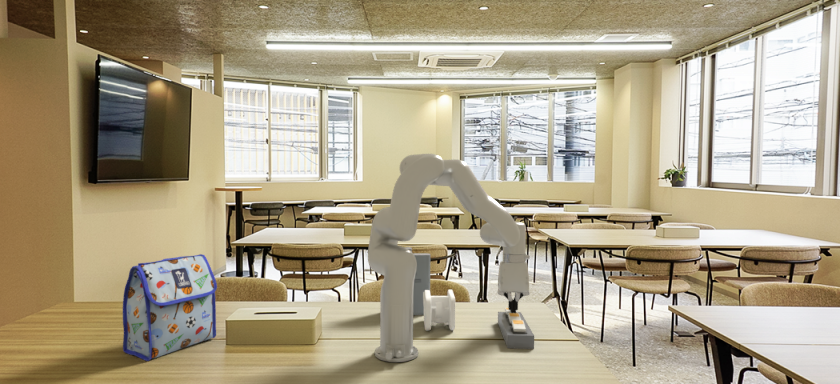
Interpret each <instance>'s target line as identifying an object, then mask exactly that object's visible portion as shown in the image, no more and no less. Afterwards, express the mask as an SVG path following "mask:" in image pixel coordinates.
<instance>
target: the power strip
mask: <svg viewBox="0 0 840 384" xmlns="http://www.w3.org/2000/svg"><path fill="white" fill-rule="evenodd" d="M517 312H518V313H519V314H520V317H521V320H523V321H524V324H525V328H526V332H514V330H513V326H512V323H510V321H509V317H508V315H507V314H506V312H505V311H498V312H497V325H498V327H499V330H500V332H501V335H502V338H503V340H504V342H505V346H506V348H507V349H527V350H528V349H530V350H533V349H535V335H534V333H533V331H532V330H531V328H530V326H529V324H528V323H527V322H528V321H526V319H525V317H524V315H523V313H522V311H520V312H519V311H517Z"/></svg>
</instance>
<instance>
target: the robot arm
mask: <svg viewBox="0 0 840 384" xmlns="http://www.w3.org/2000/svg"><path fill="white" fill-rule="evenodd" d="M399 173H400V175H399V176H398V178H397V179H396V182H395V183H394V187H393V190H392V194H391V200H390V204H389V205H390V206H387V207H384V208H381V209H380V210H378V211H377V213H376V214H375V215H374V217H373V219H372V222H371V223H372V224H371V230H370V236H369V242H368V249H367V262H368V266H369V267H370V269H371V270H372V271H374V272H375V273H377V274H380V275H382V276H383V280H382V283H381V287H380V296H379V297H380V298H379V299H380V300H379V301H380V308H379V309H380V311H379V312H380V314H379V315H380V320H379V321H380V323H379V324H380V325H379V326H380V328H379V331H380V335H379V337H380V338H379V339H380V341H379V342H380V343H379V346H378V347H376V348H375V349H374V356H375V357H376V358H377V359H379V360H381V361H383V362H388V363H403V362H409V361H412V360H414V359H416V358H417V357H418V355H419V349H418V348H417V347H416V346H414V315H413V289H414V279H415V274H416V268H417V262H416V258H415V256H414V254H415V253H414V254H413V251H412V252H411V251H410V250H409V249H407V248H405V247H404V246H402V245H399V243H398V242H409V241H411V240H412V239H413V238H414V237H415V235H416V233H417V231H418V230H417V229H418V222H419V216H420V209H421V208H420V207H421V201H422V198H423V194H424V192H425V190H426V189H427V187H429V186H438V187H439V186H441V187H449V188H450V190H451V191H452V193H453V194H454V196H455V197H456V198H457V200H458V202H459V203H460V204H461V206H462V208H463V209H464V210H466V211H467V212H468V213H470V214H472V215H473V216H475V217H477V218H479V219H481V220H483V221H485V222H486V223H484V224H483V225H482V226H481V227H480V229H479V236H480V237H479V238H481V239H480V240H482V241H483V242H485V243H486V244H488V245H491V246H499V247H502V260H500V262H499V266H498V276H497V291H496V292H497V294H498V296H502V297H505V299H507V301H508V306H507V308H508V309H509V310H510V311H511V313H513V312H514V313H516V310H517V311H518V310H519V301H520V300H521V299H522V298H523V297H526V296H530V276H529V275H530V274H529V266H528V262H527V260H530V258H531V257H530V256H531V255H530V254H526V241H527V239H526V238H527V237H526V233H527V232H526V229H527V227H526V224H525V223H524V222H523V221H522V222H521V221H515V219H514V217H513V216H512V215H511V213H509V211H508V210H507V209H506V208H505V207H504V206H503V205H501V204H500V203H499V202H498V201H497V200H495V199H494V198H492V197H491V196H490V195H489V194H488V193H487V192H486V190H485V189H484V188H483V186H482V184H481V183H480V181H479V180H478V179H477V177H476V175H475V173H474V172H473V171H472V169H471V167H470V165H468V164H467V162H465V161H464V160H461V159H454V158H453V159H443V158H442V157H441V156H440V155H438V154H435V153H419V154H410V155H409V154H408V155H407V156H405V157H404V158H403V159H402V160H401V162H400V163H399ZM512 293H514V298H513V296H512Z"/></svg>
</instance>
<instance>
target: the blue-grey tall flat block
mask: <svg viewBox="0 0 840 384" xmlns="http://www.w3.org/2000/svg"><path fill="white" fill-rule="evenodd" d="M405 248H407V249H409V250H410V251H411V252H412V253H413V250H412V249H413V248H412V247H409V246H406V247H405ZM413 254H414V256H415V258H416V262H417V268H416V274H415V279H414V289H413V316H424V306H423V292H424V291H425V290H430V291H431V253H425V252H424V253H422V252H421V253H415V252H414V253H413Z"/></svg>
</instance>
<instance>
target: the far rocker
mask: <svg viewBox="0 0 840 384" xmlns="http://www.w3.org/2000/svg"><path fill="white" fill-rule="evenodd" d="M504 312H506V314H507V315H508V313H511V311H510V310H509V309H508V307H505V308H504ZM518 312H519V311H518V310H516V313H518ZM513 313H514V312H513Z"/></svg>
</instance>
